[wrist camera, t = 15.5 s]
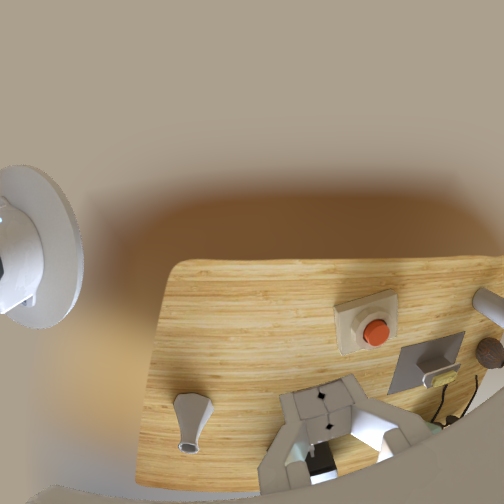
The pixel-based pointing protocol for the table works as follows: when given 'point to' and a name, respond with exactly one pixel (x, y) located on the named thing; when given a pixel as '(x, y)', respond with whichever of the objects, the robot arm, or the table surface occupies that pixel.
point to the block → (364, 320)
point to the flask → (191, 419)
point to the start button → (376, 333)
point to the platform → (427, 364)
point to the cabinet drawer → (318, 458)
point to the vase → (490, 353)
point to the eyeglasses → (451, 418)
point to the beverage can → (490, 305)
